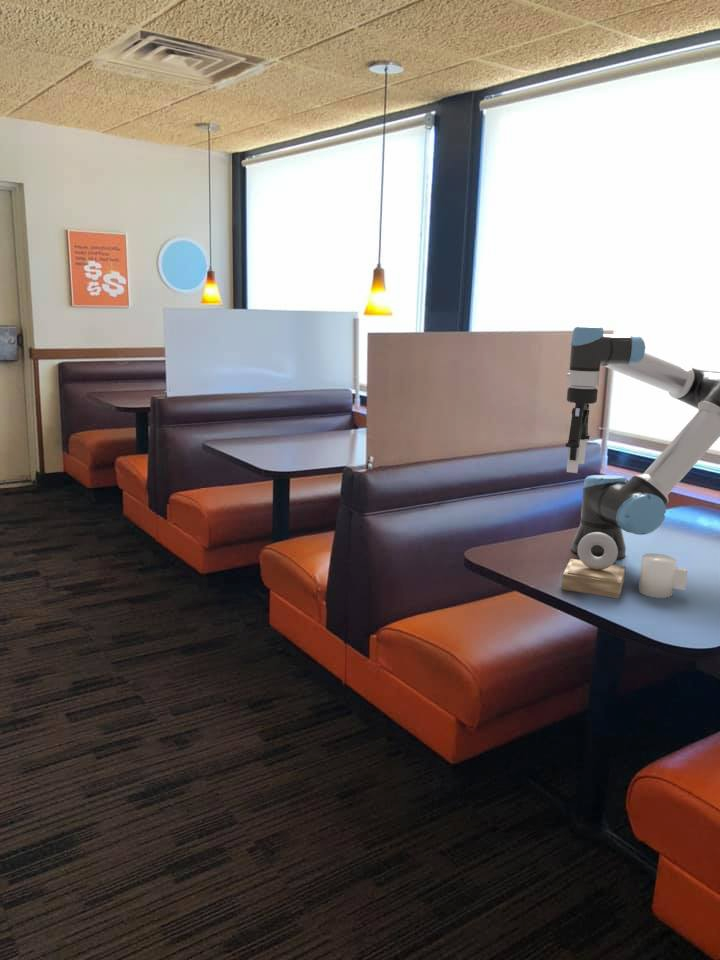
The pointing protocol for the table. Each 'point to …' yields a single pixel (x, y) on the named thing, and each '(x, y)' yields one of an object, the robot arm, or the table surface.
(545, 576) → the table surface
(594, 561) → the donut
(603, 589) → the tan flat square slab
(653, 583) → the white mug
